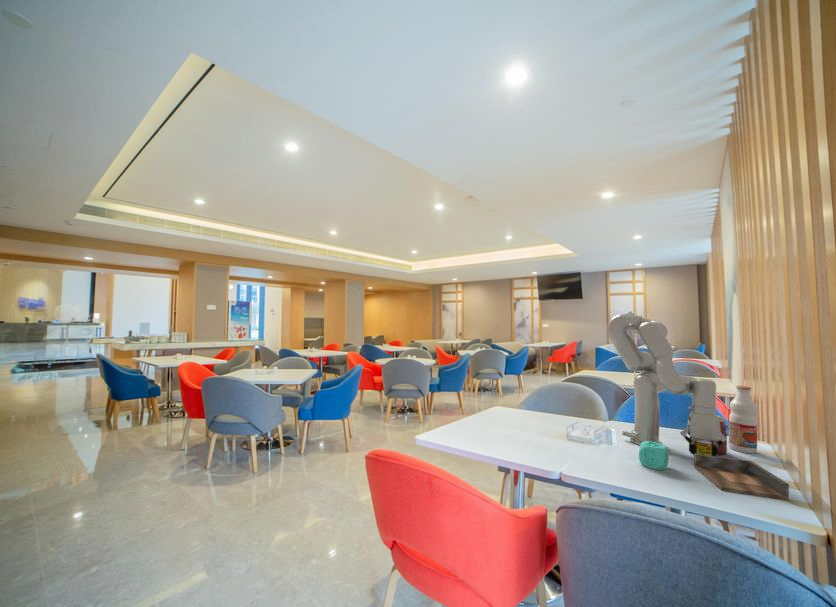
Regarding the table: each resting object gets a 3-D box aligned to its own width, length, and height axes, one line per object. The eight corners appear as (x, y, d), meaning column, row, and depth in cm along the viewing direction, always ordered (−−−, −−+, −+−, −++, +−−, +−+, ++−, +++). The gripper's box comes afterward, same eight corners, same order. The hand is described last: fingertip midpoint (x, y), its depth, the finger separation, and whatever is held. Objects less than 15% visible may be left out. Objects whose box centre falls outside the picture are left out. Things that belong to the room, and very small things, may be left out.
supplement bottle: (697, 461, 146) (697, 435, 146) (691, 456, 151) (692, 431, 151) (714, 463, 144) (714, 437, 144) (707, 458, 149) (708, 433, 150)
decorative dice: (668, 466, 139) (669, 445, 139) (663, 472, 134) (663, 450, 134) (644, 460, 145) (645, 439, 145) (638, 465, 139) (639, 443, 140)
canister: (733, 458, 152) (734, 415, 152) (695, 452, 156) (696, 411, 156) (718, 447, 164) (719, 408, 165) (684, 443, 168) (685, 404, 169)
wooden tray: (721, 490, 121) (721, 474, 121) (693, 466, 140) (693, 453, 140) (788, 500, 116) (788, 484, 116) (750, 474, 135) (750, 460, 135)
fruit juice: (735, 445, 168) (736, 384, 169) (761, 452, 160) (762, 388, 161) (723, 447, 165) (725, 384, 166) (749, 455, 156) (750, 389, 157)
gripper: (682, 409, 147) (681, 455, 146) (734, 415, 142) (733, 461, 142) (675, 405, 154) (674, 448, 154) (724, 410, 150) (723, 454, 149)
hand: (702, 454), depth 148 cm, fingers open, 6 cm apart
